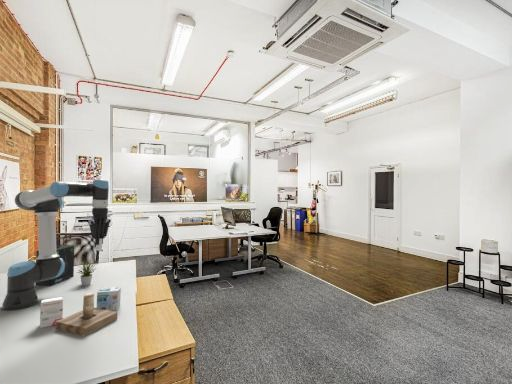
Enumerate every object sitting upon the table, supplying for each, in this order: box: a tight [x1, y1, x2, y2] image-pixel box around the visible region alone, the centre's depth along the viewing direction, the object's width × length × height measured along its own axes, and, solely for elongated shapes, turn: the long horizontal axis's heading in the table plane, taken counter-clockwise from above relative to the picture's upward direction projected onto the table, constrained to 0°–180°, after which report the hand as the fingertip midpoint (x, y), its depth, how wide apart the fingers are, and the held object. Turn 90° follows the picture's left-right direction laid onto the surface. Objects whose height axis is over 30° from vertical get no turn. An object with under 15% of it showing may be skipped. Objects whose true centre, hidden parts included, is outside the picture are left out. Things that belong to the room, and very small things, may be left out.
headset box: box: [34, 244, 75, 287], centre depth 195 cm, size 22×12×26 cm, turn 179°
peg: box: [82, 292, 95, 320], centre depth 131 cm, size 4×4×14 cm
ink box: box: [39, 296, 64, 329], centre depth 130 cm, size 9×5×12 cm, turn 125°
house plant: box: [76, 261, 98, 286], centre depth 189 cm, size 14×14×16 cm
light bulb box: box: [96, 286, 122, 312], centre depth 149 cm, size 11×7×11 cm, turn 105°
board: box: [55, 307, 118, 337], centre depth 131 cm, size 18×18×4 cm
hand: (98, 250), depth 148 cm, fingers closed
